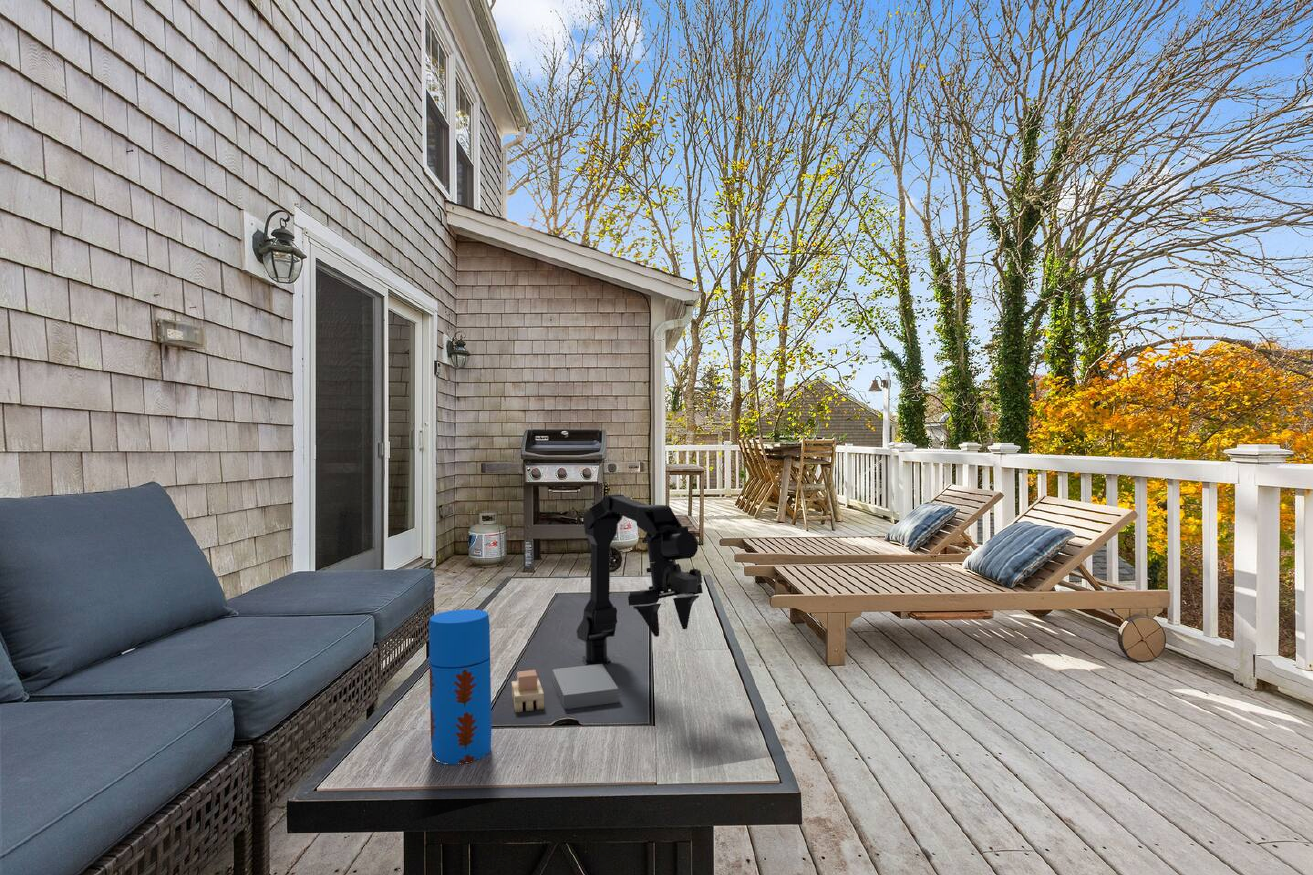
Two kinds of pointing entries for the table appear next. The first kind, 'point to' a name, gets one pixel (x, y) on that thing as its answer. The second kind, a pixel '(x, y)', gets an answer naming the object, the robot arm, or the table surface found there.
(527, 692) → the tray
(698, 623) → the table surface
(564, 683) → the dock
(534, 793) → the table surface
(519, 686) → the block
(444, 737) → the thermos
